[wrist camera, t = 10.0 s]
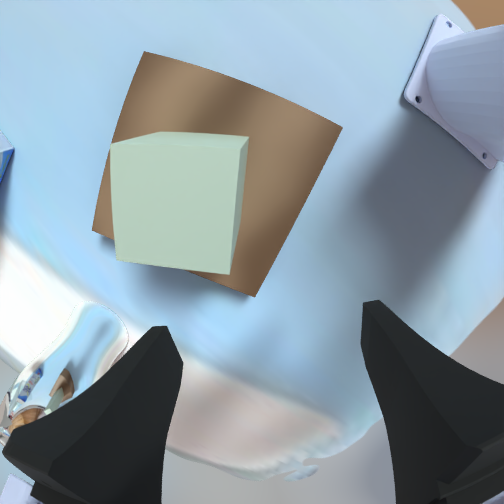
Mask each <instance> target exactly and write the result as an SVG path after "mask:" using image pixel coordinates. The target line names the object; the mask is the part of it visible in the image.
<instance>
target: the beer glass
mask: <svg viewBox="0 0 504 504" xmlns="http://www.w3.org/2000/svg"><path fill="white" fill-rule="evenodd" d="M127 342H128V333H127V329H126V327H125V325H124V324H123V322H122V321H121V319H120V318H119V317H118V316H117V315H116V314H115V313H114V312H113V311H112V310H110V309H109V308H107V307H106V306H104V305H102V304H99V303H96V302H92V301H84V302H81V303H79V304H77V305H76V306H75V307H74V309H73V311H72V313H71V315H70V317H69V319H68V321H67V324H66V325H65V327H64V329H63V330H62V332H61V333H60V334H59V336H58V337H57V338H56V339H55V340H54V341H53V342H52V343H51V344H50V345H49V346H48V347H46V348H45V349H44V350H43V351H42V352H41V353H40V354H39V355H38V356H37V357H35V358H34V359H33V360H32V361H31V362H30V363H29V364H28V365H27V366H26V367H25V369H24V370H23V371H22V372H21V373H20V374H19V376H18V377H17V378H16V380H15V381H14V382H13V384H12V385H11V387H10V388H9V390H8V392H7V394H6V395H5V397H4V399H3V401H2V403H1V405H0V443H1V444H2V445H3V446H4V447H5V445H6V443H7V441H8V439H9V437H10V435H11V433H12V431H13V429H15V428H18V427H20V426H23V425H25V424H28V423H30V422H33V421H35V420H37V419H40V418H42V417H44V416H46V415H48V414H49V413H51V412H53V411H55V410H57V409H58V408H60V407H62V406H63V405H65V404H66V403H68V402H69V401H71V400H72V399H74V398H75V397H77V396H78V395H80V394H81V393H82V392H84V391H85V390H86V389H87V388H89V387H90V386H91V385H92V384H94V383H95V382H96V381H97V380H98V379H100V378H101V377H102V376H103V375H104V374H105V373H106V372H107V371H108V370H109V369H110V367H111V365H112V363H113V361H114V360H115V359H116V357H117V356H118V355H119V354H120V353H121V351H122V350H123V349H124V348H125V347H126V345H127Z"/></svg>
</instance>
